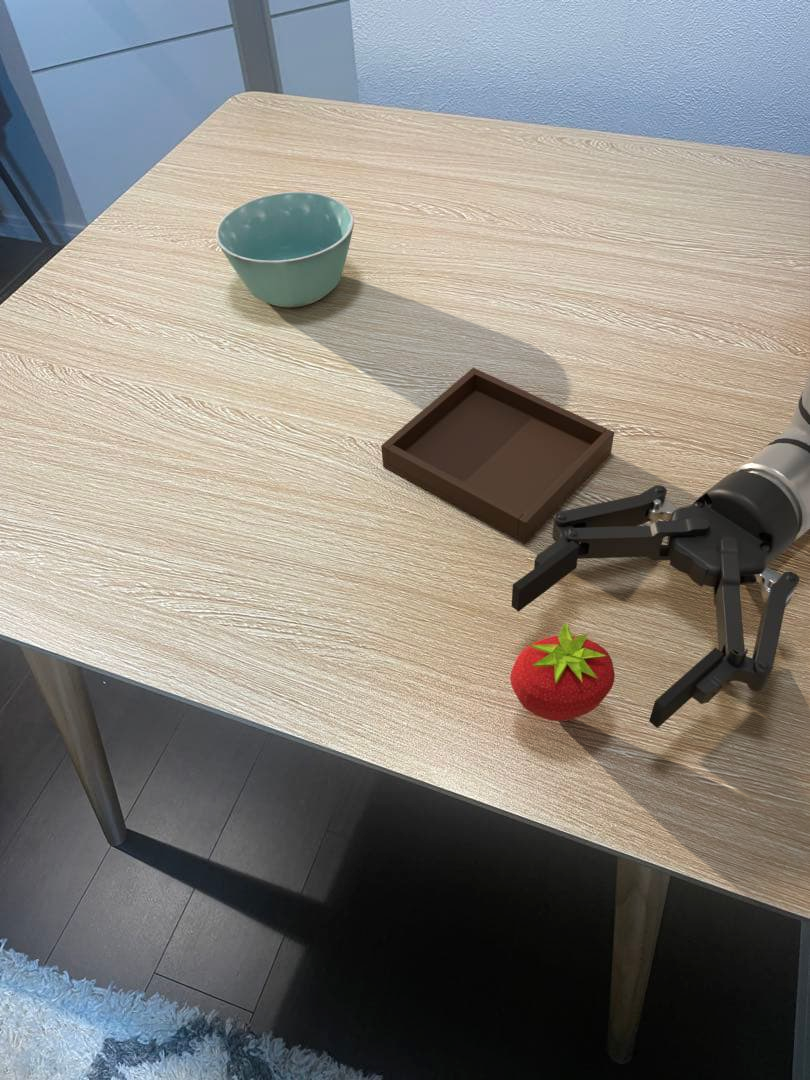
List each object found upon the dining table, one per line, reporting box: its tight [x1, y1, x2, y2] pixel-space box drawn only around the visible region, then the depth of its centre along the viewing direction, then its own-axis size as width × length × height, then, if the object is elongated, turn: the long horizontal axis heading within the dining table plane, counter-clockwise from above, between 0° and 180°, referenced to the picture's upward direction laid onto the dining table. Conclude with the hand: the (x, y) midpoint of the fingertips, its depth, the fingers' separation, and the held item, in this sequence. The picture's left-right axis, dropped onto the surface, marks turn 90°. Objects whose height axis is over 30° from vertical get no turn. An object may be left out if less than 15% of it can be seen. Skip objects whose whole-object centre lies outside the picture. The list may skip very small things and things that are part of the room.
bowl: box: [215, 191, 355, 308], centre depth 107 cm, size 16×16×8 cm
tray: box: [380, 367, 615, 545], centre depth 87 cm, size 17×15×3 cm
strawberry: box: [509, 620, 616, 722], centre depth 66 cm, size 6×8×10 cm
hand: (581, 653), depth 66 cm, fingers open, 13 cm apart
